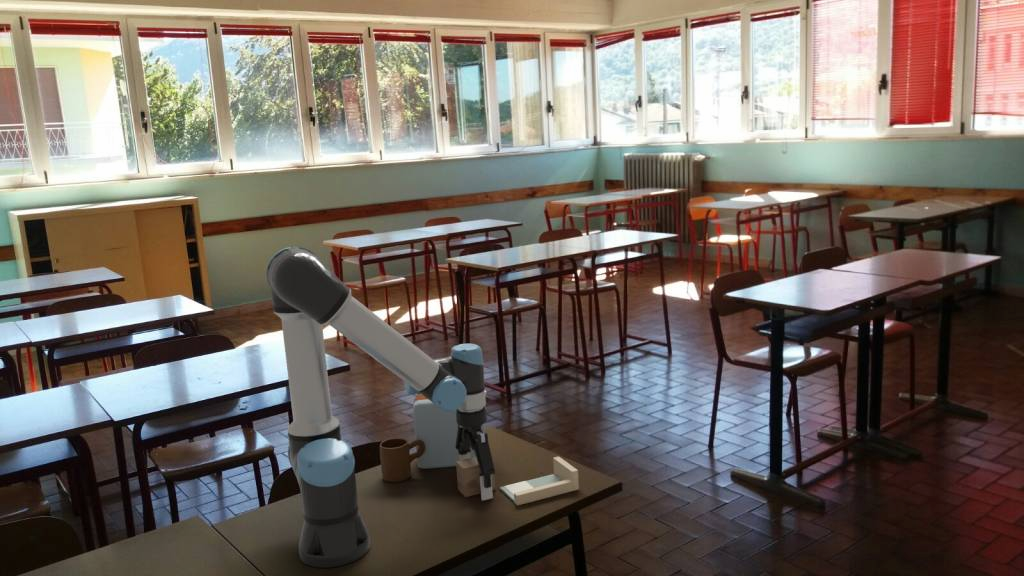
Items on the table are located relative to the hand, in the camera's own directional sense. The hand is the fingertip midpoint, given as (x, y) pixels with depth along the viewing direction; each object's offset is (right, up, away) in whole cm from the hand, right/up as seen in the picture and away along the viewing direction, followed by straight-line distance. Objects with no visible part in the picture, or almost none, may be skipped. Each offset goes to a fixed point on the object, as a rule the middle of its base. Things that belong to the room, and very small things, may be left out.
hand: (476, 488), depth 202 cm
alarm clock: (-7, +3, +18) cm, 20 cm away
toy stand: (+16, 0, -2) cm, 16 cm away
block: (0, 0, 0) cm, 0 cm away
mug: (-19, +1, +11) cm, 22 cm away
